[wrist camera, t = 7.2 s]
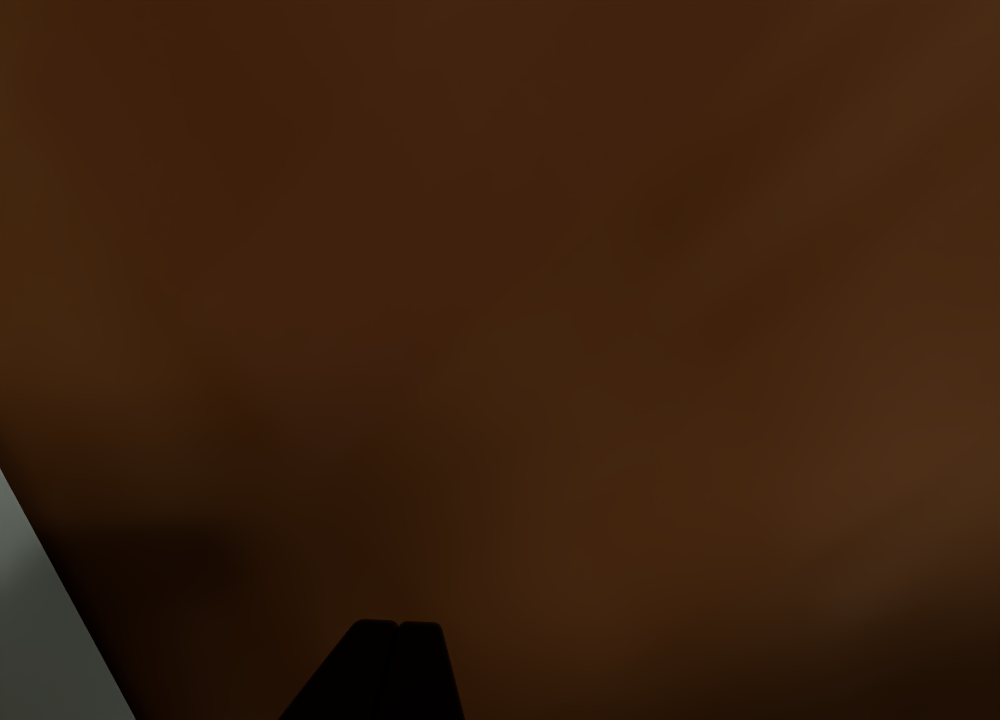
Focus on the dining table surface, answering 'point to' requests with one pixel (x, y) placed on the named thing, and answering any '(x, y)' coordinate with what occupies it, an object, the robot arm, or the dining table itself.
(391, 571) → the dining table surface
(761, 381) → the dining table surface
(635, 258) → the dining table surface
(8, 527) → the door
